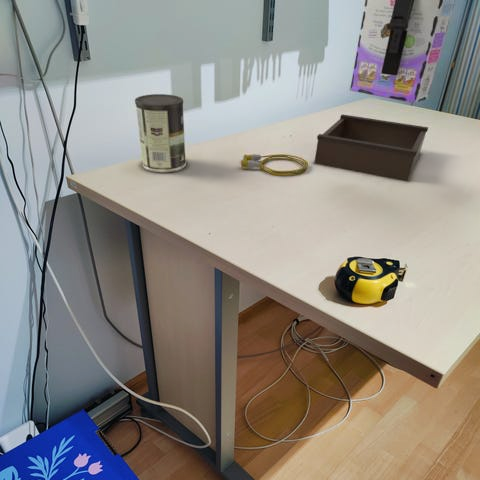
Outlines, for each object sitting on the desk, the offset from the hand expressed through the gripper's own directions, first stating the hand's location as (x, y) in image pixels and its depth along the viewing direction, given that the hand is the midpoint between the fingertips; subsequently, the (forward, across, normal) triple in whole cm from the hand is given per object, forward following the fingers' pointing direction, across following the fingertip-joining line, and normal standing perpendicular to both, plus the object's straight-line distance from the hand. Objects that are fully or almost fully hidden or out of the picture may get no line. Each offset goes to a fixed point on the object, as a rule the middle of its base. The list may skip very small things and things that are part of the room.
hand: (393, 70), depth 78 cm
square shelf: (+23, -21, -4) cm, 31 cm away
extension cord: (+23, -3, -23) cm, 32 cm away
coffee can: (+23, +10, -46) cm, 52 cm away
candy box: (+4, 0, 0) cm, 4 cm away
